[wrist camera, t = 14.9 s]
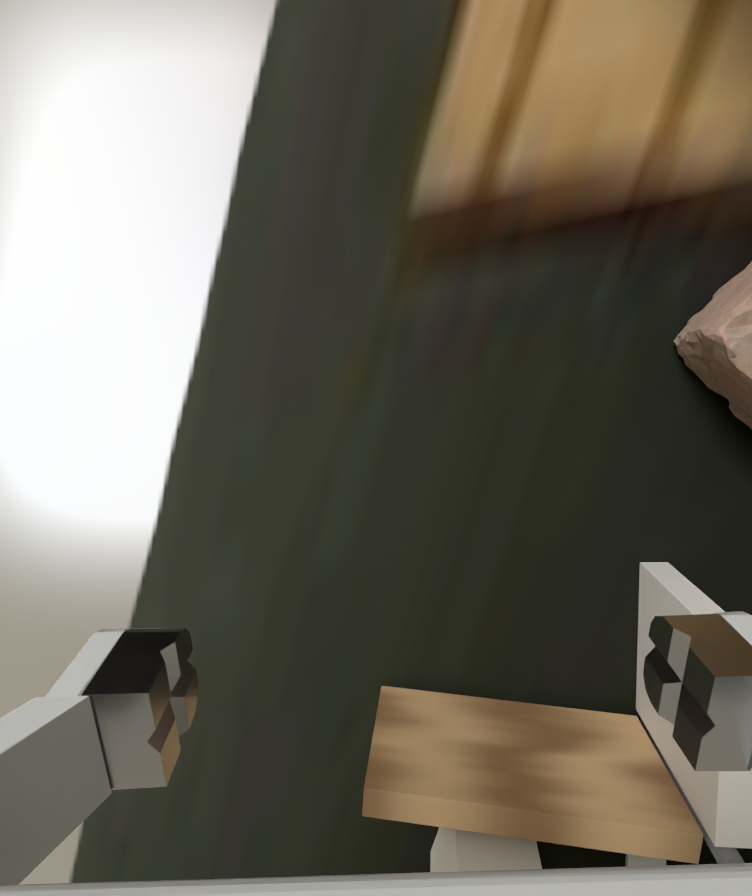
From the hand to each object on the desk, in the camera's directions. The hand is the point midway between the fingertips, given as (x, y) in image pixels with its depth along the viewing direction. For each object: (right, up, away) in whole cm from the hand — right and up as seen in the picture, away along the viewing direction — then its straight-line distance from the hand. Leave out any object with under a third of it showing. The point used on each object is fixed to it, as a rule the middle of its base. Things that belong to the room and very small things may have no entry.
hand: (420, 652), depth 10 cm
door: (+5, -10, +17) cm, 20 cm away
